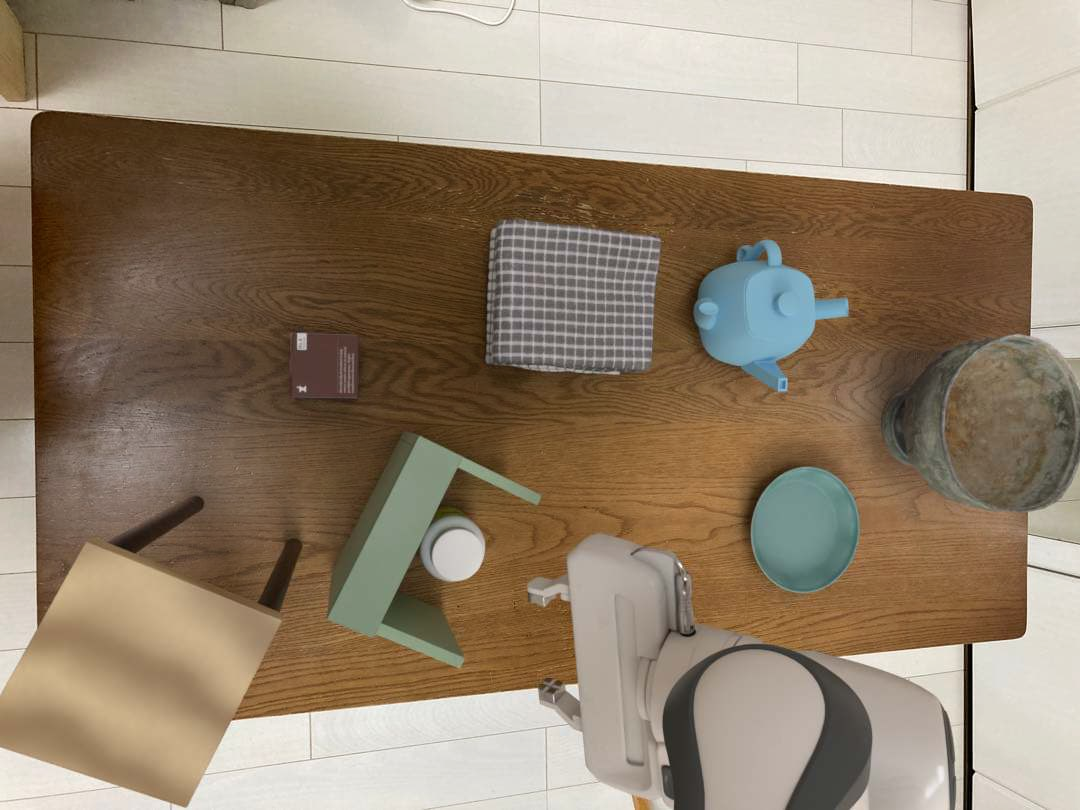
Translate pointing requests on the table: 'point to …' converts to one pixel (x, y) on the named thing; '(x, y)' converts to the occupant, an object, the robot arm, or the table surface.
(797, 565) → the saucer
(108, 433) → the table surface
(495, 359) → the towel
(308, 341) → the box
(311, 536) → the table surface
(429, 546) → the pill bottle
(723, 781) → the robot arm
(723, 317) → the teapot
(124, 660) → the stand
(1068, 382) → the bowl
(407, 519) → the cubby
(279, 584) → the stand legs
